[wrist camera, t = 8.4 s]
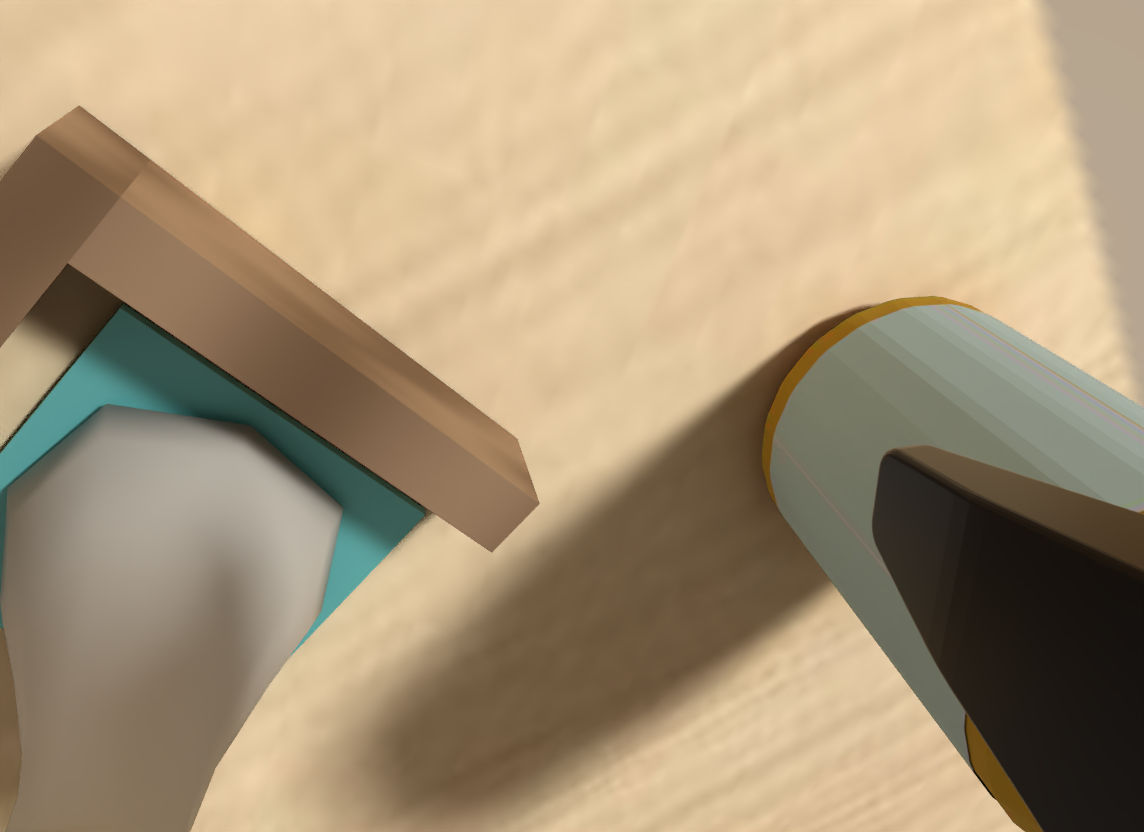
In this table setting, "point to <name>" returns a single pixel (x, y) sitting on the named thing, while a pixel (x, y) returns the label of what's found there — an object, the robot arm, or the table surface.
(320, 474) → the pad
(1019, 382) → the bottle
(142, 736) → the flask
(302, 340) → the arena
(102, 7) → the table surface
